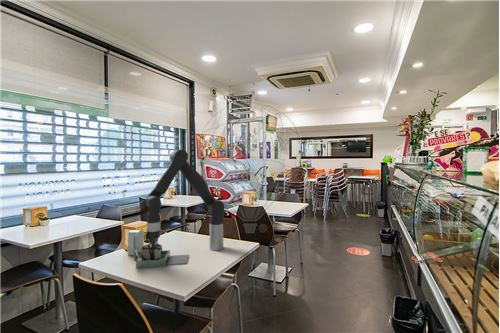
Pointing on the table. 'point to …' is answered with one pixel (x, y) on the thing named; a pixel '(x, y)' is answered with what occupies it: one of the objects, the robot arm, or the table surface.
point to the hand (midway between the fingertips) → (153, 257)
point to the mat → (178, 259)
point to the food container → (146, 250)
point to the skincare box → (132, 241)
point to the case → (138, 252)
